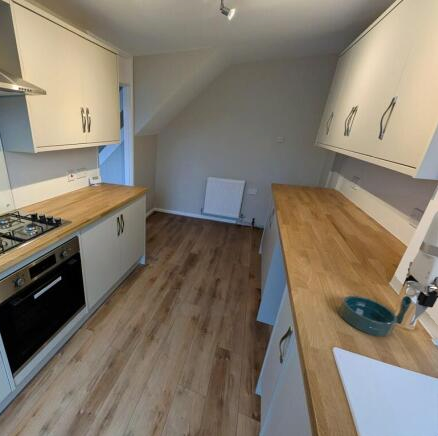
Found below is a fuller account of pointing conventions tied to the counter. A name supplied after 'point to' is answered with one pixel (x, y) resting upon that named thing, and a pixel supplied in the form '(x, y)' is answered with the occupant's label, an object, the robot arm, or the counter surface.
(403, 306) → the beer glass
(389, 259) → the counter surface
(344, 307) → the bowl
